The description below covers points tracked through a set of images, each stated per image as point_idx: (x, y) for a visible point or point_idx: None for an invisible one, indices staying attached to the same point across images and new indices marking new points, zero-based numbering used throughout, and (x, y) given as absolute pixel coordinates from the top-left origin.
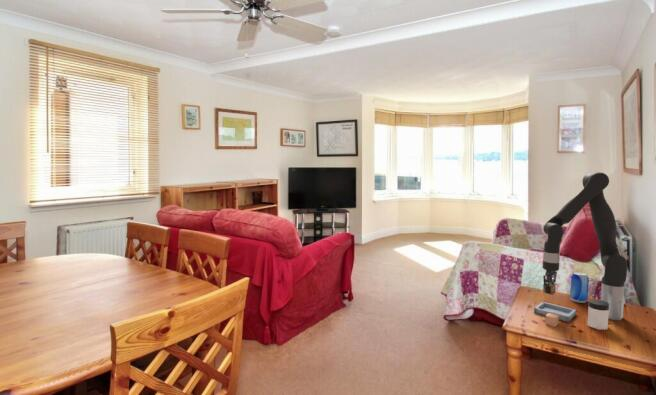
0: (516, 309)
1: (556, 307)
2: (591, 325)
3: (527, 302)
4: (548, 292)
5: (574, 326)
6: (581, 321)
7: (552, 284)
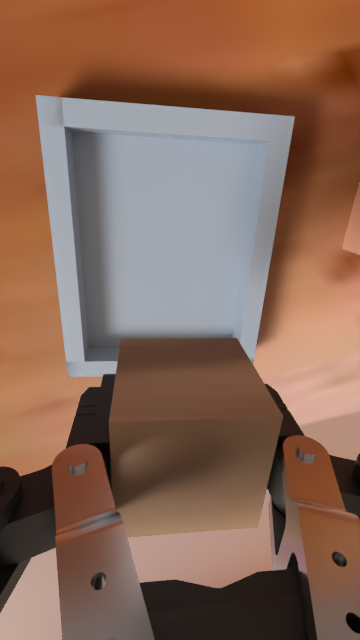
0: None
1: (79, 270)
2: None
3: None
4: (270, 388)
5: (350, 57)
6: (194, 20)
7: (157, 455)
